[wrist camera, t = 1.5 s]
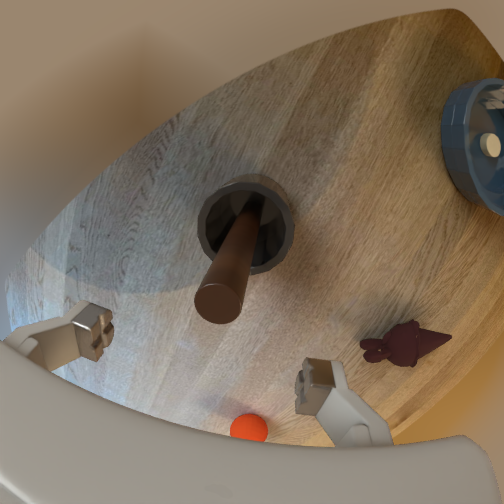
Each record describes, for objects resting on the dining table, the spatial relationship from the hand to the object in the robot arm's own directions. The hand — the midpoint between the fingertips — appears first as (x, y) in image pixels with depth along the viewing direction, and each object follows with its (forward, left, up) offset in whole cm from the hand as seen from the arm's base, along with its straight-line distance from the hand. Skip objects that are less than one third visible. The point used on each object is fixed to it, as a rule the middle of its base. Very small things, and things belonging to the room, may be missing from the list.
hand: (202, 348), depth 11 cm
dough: (+12, +32, -23) cm, 41 cm away
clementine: (+29, -26, -24) cm, 46 cm away
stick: (0, 0, -23) cm, 23 cm away
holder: (0, 0, -24) cm, 24 cm away
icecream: (+28, +6, -24) cm, 37 cm away
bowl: (+12, +32, -24) cm, 42 cm away
